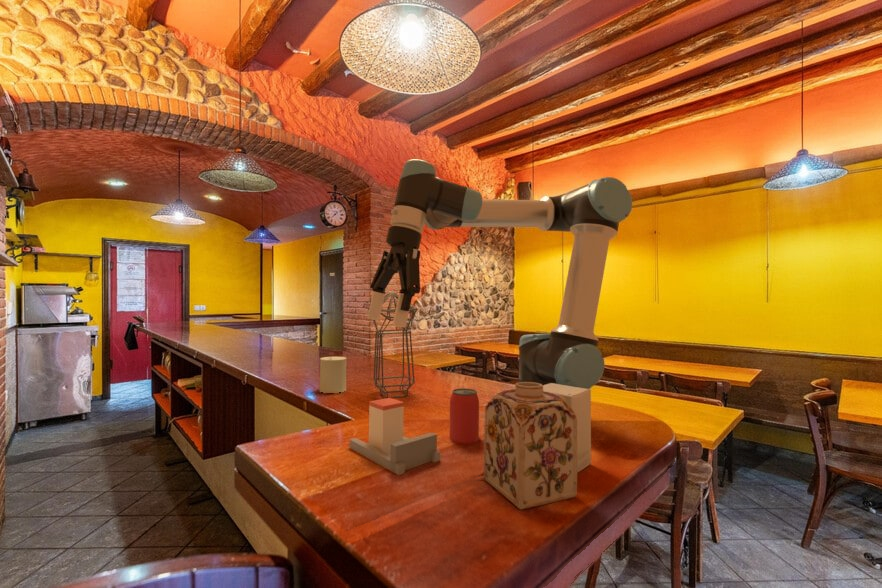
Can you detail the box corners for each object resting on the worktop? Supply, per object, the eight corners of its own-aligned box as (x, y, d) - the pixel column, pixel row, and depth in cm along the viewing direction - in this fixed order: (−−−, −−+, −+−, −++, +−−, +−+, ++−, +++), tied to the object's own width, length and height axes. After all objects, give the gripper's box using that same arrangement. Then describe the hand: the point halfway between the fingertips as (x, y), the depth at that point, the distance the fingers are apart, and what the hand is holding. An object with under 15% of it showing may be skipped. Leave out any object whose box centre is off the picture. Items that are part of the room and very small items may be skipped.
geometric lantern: (420, 399, 129) (419, 292, 129) (372, 403, 125) (371, 293, 125) (411, 388, 144) (410, 292, 144) (368, 391, 140) (367, 293, 140)
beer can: (477, 451, 84) (477, 395, 84) (446, 448, 85) (447, 393, 86) (480, 441, 91) (480, 388, 91) (452, 438, 92) (452, 387, 92)
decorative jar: (519, 512, 60) (520, 393, 60) (481, 480, 71) (482, 379, 71) (580, 497, 65) (580, 387, 65) (536, 469, 75) (536, 375, 76)
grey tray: (343, 455, 81) (343, 425, 81) (391, 442, 89) (391, 414, 89) (401, 490, 66) (402, 453, 66) (453, 470, 74) (453, 437, 74)
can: (314, 393, 136) (315, 358, 136) (326, 387, 145) (327, 354, 145) (339, 394, 134) (340, 359, 135) (350, 388, 143) (350, 355, 144)
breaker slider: (368, 449, 80) (369, 401, 81) (388, 443, 84) (389, 397, 84) (382, 456, 77) (383, 406, 77) (403, 450, 80) (403, 402, 80)
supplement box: (592, 464, 78) (593, 388, 78) (571, 478, 72) (572, 396, 72) (551, 451, 84) (551, 381, 85) (528, 463, 78) (529, 388, 78)
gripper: (369, 229, 96) (349, 314, 95) (418, 217, 75) (394, 326, 74) (396, 238, 100) (377, 320, 99) (450, 229, 79) (428, 332, 78)
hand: (385, 323), depth 86 cm, fingers open, 13 cm apart
